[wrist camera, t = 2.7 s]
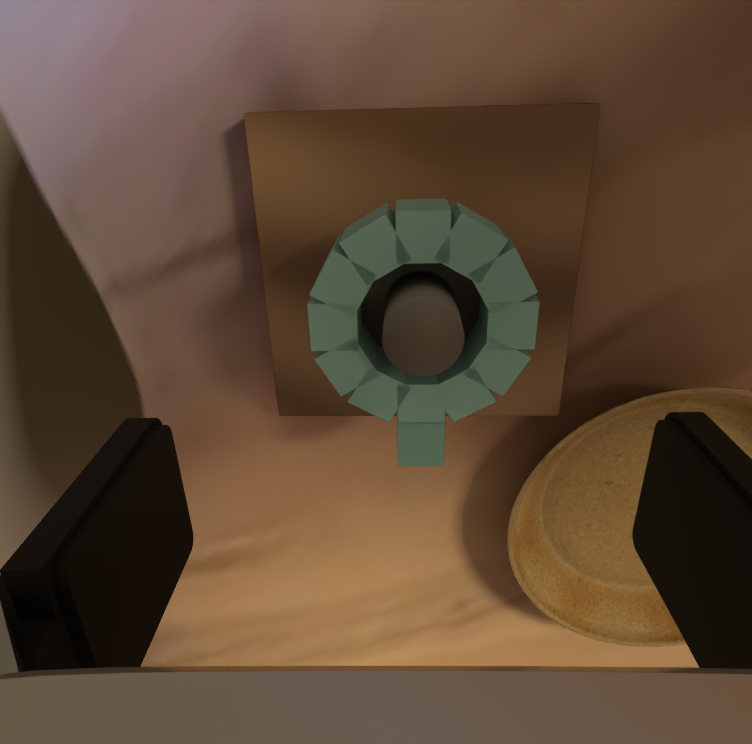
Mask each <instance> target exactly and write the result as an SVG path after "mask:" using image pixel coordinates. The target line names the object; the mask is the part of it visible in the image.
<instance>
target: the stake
mask: <svg viewBox="0 0 752 744" xmlns="http://www.w3.org/2000/svg"><path fill="white" fill-rule="evenodd" d="M599 110H600V104H599V103H571V104H535V105H499V106H463V107H426V108H390V109H354V110H318V111H282V112H251V113H244V120H245V128H246V137H247V145H248V154H249V162H250V171H251V180H252V188H253V197H254V205H255V214H256V222H257V231H258V239H259V248H260V256H261V265H262V273H263V282H264V290H265V299H266V307H267V316H268V324H269V333H270V342H271V350H272V359H273V367H274V376H275V384H276V393H277V401H278V410H279V416H375V415H373V414H371V413H369V412H367V411H365V410H363V409H361V408H359V407H357V406H355V405H353V404H350V403H348V398H349V392H348V393H347V394H345V395H343V396H340V394H339V393H338V392H337V390H336V389H335V387H334V386H333V385H332V383H331V382H330V381H329V379H328V378H327V376H326V375H325V374H324V372H323V371H322V369H321V368H320V367H319V365H318V364H317V362H316V361H315V360H314V359H315V356H316V353H317V351H311V342H310V330H309V318H308V306H307V304H308V302H309V299H310V297H311V296H310V295H309V294H310V292H311V290H312V288H313V285H314V283H315V281H316V279H317V277H318V275H319V273H320V271H321V269H322V267H323V265H324V263H325V261H326V259H327V257H328V255H329V253H330V251H331V249H332V247H333V245H334V244H335V242H336V240H337V238H338V236H339V235H340V236H342V235H343V232H344V230H345V228H346V227H348V226H349V225H351V224H353V223H354V222H356V221H357V220H359V219H361V218H362V217H364V216H365V215H367V214H369V213H370V212H372V211H374V210H375V209H377V208H378V207H380V206H382V205H383V204H385V203H386V202H387V203H388V205H389V207H390V208H391V210H392V212H393V214H394V215H395V217H396V199H447V201H448V204H449V206H450V209H451V208H452V206H453V205H454V203H455V201H457V202H458V203H460V204H462V205H464V206H465V207H467V208H469V209H470V210H472V211H474V212H476V213H477V214H479V215H481V216H482V217H484V218H486V219H488V220H489V221H491V222H493V223H494V224H496V225H498V227H499V228H500V229H501V231H502V232H504V233H505V234H506V236H507V237H508V238H509V240H510V241H511V242H512V244H513V245H514V247H515V248H516V250H517V252H518V254H519V256H520V258H521V260H522V262H523V264H524V266H525V268H526V270H527V272H528V274H529V276H530V278H531V280H532V281H533V283H534V285H535V287H536V289H537V291H538V293H536V294H535V295H536V297H537V298H538V300H539V301H540V304H539V313H538V322H537V332H536V341H535V349H527V350H528V353H529V355H530V357H531V359H530V360H529V362H528V363H527V364H526V366H525V367H524V368H523V370H522V371H521V372H520V374H519V375H518V376H517V378H516V379H515V380H514V382H513V383H512V384H511V386H510V387H509V388H508V390H507V391H506V393H505V394H504V395H503V396H502V395H500V394H498V393H496V392H494V391H493V394H494V398H495V401H496V402H494V403H492V404H490V405H488V406H486V407H484V408H482V409H480V410H478V411H476V412H474V413H472V414H470V415H467V416H513V415H559V408H560V401H561V393H562V386H563V379H564V371H565V364H566V356H567V349H568V341H569V334H570V326H571V319H572V312H573V304H574V297H575V289H576V282H577V274H578V267H579V259H580V252H581V244H582V237H583V230H584V222H585V215H586V207H587V200H588V192H589V185H590V177H591V170H592V163H593V155H594V148H595V140H596V133H597V125H598V118H599ZM361 305H362V321H363V323H364V324H365V326H366V327H367V329H368V330H369V332H370V333H371V335H372V336H373V338H374V339H375V341H376V343H377V344H378V345H379V346H381V347H383V349H384V352H385V354H386V356H387V358H388V359H389V361H390V362H391V363H392V364H393V365H394V366H395V367H396V368H398V369H399V370H401V371H402V372H405V373H407V374H410V375H414V376H431V375H435V374H438V373H441V372H443V371H445V370H446V369H448V368H449V367H450V366H452V365H453V364H454V363H455V362H456V360H457V359H458V358H459V356H460V354H461V352H462V350H463V346H464V341H465V339H466V338H467V336H468V335H469V333H470V332H471V330H472V329H473V327H474V326H475V324H476V323H477V321H478V320H479V306H480V293H479V292H478V290H477V288H476V286H475V284H474V283H473V281H472V280H471V279H469V278H467V277H465V276H463V275H462V274H460V273H458V272H456V271H454V270H453V269H451V268H449V267H447V266H445V265H444V264H442V263H414V264H403V265H401V266H399V267H398V268H396V269H394V270H393V271H391V272H389V273H387V274H386V275H384V276H382V277H381V278H379V279H377V280H375V281H374V282H373V283H372V285H371V287H370V288H369V290H368V292H367V294H366V296H365V297H364V299H363V301H362V303H361ZM393 416H397V411H396V412H395V414H394V415H393ZM445 416H449V415H448V413H447V412H446V410H445Z"/></svg>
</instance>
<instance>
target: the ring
mask: <svg viewBox="0 0 752 744" xmlns="http://www.w3.org/2000/svg"><path fill="white" fill-rule="evenodd" d="M414 263H442V264H444V265H445V266H447V267H449V268H451V269H453V270H454V271H456V272H458V273H460V274H462V275H463V276H465V277H467V278H469V279H471V280H472V281H473V283H474V284H475V286H476V288H477V290H478V292H479V293H480V306H479V320H478V321H477V323H476V324H475V326H474V327H473V329H472V330H471V332H470V333H469V335H468V336H467V338H466V339H465V341H464V346H463V350H462V352H461V354H460V356H459V358H458V359H457V360H456V362H455V363H454V364H453V365H452V366H450V367H449V368H448V369H446V370H445V371H443V372H441V373H438V374H435V375H431V376H414V375H410V374H407V373H405V372H402V371H401V370H399V369H398V368H396V367H395V366H394V365H393V364H392V363H391V362H390V361H389V359H388V358H387V356H386V354H385V352H384V349H383V347H381V346H379V345H378V344H377V343H376V341H375V339H374V338H373V336H372V335H371V333H370V332H369V330H368V329H367V327H366V326H365V324H364V323H363V321H362V305H361V303H362V301H363V299H364V297H365V296H366V294H367V292H368V290H369V288H370V287H371V285H372V283H373V282H374V281H375V280H377V279H379V278H381V277H382V276H384V275H386V274H387V273H389V272H391V271H393V270H394V269H396V268H398V267H399V266H401V265H403V264H414ZM536 293H538V291H537V289H536V287H535V285H534V283H533V281H532V280H531V278H530V276H529V274H528V272H527V270H526V268H525V266H524V264H523V262H522V260H521V258H520V256H519V254H518V252H517V250H516V248H515V247H514V245H513V244H512V242H511V241H510V240H509V238H508V237H507V236H506V234H505V233H504V232H502V231H501V229H500V228H499V227H498V225H496V224H494V223H493V222H491V221H489V220H488V219H486V218H484V217H482V216H481V215H479V214H477V213H476V212H474V211H472V210H470V209H469V208H467V207H465V206H464V205H462V204H460V203H458V202H457V201H455V203H454V205H453V206H452V208H451V209H450V206H449V204H448V201H447V199H396V217H395V215H394V214H393V212H392V210H391V208H390V207H389V205H388V203H387V202H386V203H385V204H383V205H382V206H380V207H378V208H377V209H375V210H374V211H372V212H370V213H369V214H367V215H365V216H364V217H362V218H361V219H359V220H357V221H356V222H354V223H353V224H351V225H349V226H348V227H346V228H345V230H344V232H343V235H342V236H340V235H339V236H338V238H337V240H336V242H335V244H334V245H333V247H332V249H331V251H330V253H329V255H328V257H327V259H326V261H325V263H324V265H323V267H322V269H321V271H320V273H319V275H318V277H317V279H316V281H315V283H314V285H313V288H312V290H311V292H310V294H309V295H310V296H311V297H310V299H309V302H308V304H307V306H308V318H309V330H310V342H311V351H317V353H316V356H315V359H314V360H315V361H316V362H317V364H318V365H319V367H320V368H321V369H322V371H323V372H324V374H325V375H326V376H327V378H328V379H329V381H330V382H331V383H332V385H333V386H334V387H335V389H336V390H337V392H338V393H339V394H340V396H343V395H345V394H347V393H348V392H349V398H348V403H350V404H353V405H355V406H357V407H359V408H361V409H363V410H365V411H367V412H369V413H371V414H373V415H375V416H377V417H379V418H381V419H383V420H385V421H387V422H390V420H391V419H392V417H393V415H394V414H395V412H396V411H397V451H398V466H444V441H445V410H446V412H447V413H448V415H449V416H450V418H451V419H452V421H453V422H455V421H457V420H459V419H461V418H463V417H465V416H467V415H470V414H472V413H474V412H476V411H478V410H480V409H482V408H484V407H486V406H488V405H490V404H492V403H494V402H496V401H495V398H494V394H493V391H494V392H496V393H498V394H500V395H502V396H503V395H504V394H505V393H506V391H507V390H508V388H509V387H510V386H511V384H512V383H513V382H514V380H515V379H516V378H517V376H518V375H519V374H520V372H521V371H522V370H523V368H524V367H525V366H526V364H527V363H528V362H529V360H530V359H531V357H530V355H529V353H528V350H527V349H535V341H536V332H537V322H538V313H539V304H540V301H539V300H538V298H537V297H536V295H535V294H536Z"/></svg>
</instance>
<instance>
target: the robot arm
mask: <svg viewBox="0 0 752 744" xmlns="http://www.w3.org/2000/svg"><path fill="white" fill-rule="evenodd" d="M632 539H633V544H634V548H635V550H636V552H637V554H638V556H639V557H640V559H641V561H642V563H643V565H644V567H645V568H646V570H647V572H648V574H649V576H650V578H651V579H652V581H653V583H654V585H655V587H656V589H657V590H658V592H659V594H660V596H661V598H662V599H663V601H664V603H665V605H666V607H667V609H668V610H669V612H670V614H671V616H672V618H673V620H674V621H675V623H676V625H677V627H678V629H679V631H680V632H681V634H682V636H683V638H684V640H685V642H686V643H687V645H688V647H689V649H690V651H691V653H692V654H693V656H694V658H695V660H696V662H697V664H698V665H699V667H700V668H678V667H556V666H171V667H140V666H141V664H142V662H143V659H144V657H145V655H146V653H147V650H148V648H149V646H150V643H151V641H152V639H153V637H154V634H155V632H156V630H157V628H158V625H159V623H160V621H161V619H162V616H163V614H164V612H165V609H166V607H167V605H168V603H169V600H170V598H171V596H172V594H173V591H174V589H175V587H176V585H177V582H178V580H179V578H180V575H181V573H182V571H183V569H184V566H185V564H186V562H187V560H188V557H189V555H190V553H191V550H192V546H193V530H192V525H191V521H190V516H189V511H188V507H187V502H186V497H185V492H184V488H183V483H182V478H181V473H180V469H179V464H178V459H177V454H176V450H175V445H174V440H173V435H172V431H171V429H170V427H169V426H168V425H162V423H161V421H160V419H158V418H128V419H126V420H125V421H124V422H123V423H122V424H121V425H120V426H119V428H118V429H117V430H116V431H115V432H114V434H113V435H112V436H111V437H110V438H109V440H108V441H107V442H106V443H105V444H104V446H103V447H102V448H101V449H100V451H99V452H98V453H97V454H96V455H95V457H94V458H93V459H92V460H91V461H90V463H89V464H88V465H87V466H86V467H85V469H84V470H83V471H82V472H81V473H80V475H79V476H78V477H77V478H76V479H75V481H74V482H73V483H72V484H71V485H70V487H69V488H68V489H67V490H66V491H65V493H64V494H63V495H62V497H61V498H60V499H59V500H58V501H57V502H56V503H55V505H54V506H53V507H52V508H51V509H50V511H49V512H48V513H47V514H46V516H45V517H44V518H43V519H42V520H41V522H40V523H39V524H38V525H37V526H36V528H35V529H34V530H33V531H32V532H31V534H30V535H29V536H28V537H27V538H26V540H25V541H24V542H23V543H22V544H21V546H20V547H19V548H18V549H17V550H16V552H15V553H14V554H13V555H12V556H11V558H10V559H9V560H8V561H7V562H6V564H5V565H4V566H3V567H2V568H1V570H0V573H1V575H0V744H752V459H751V458H750V457H749V456H748V455H747V454H746V453H745V452H744V451H743V450H742V449H741V448H740V447H739V446H738V445H737V444H736V443H735V442H734V441H733V440H732V439H731V438H730V437H729V436H728V435H727V434H726V433H725V432H724V431H723V430H722V429H721V428H720V427H719V426H718V425H717V424H716V423H715V422H714V421H713V420H712V419H711V418H709V417H708V416H707V415H706V414H705V413H703V412H670V413H668V414H667V415H666V417H665V419H664V420H659V421H657V423H656V425H655V428H654V433H653V438H652V442H651V447H650V452H649V456H648V461H647V465H646V470H645V475H644V479H643V484H642V489H641V493H640V498H639V502H638V507H637V512H636V516H635V521H634V526H633V531H632Z"/></svg>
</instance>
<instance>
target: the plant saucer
mask: <svg viewBox="0 0 752 744" xmlns="http://www.w3.org/2000/svg"><path fill="white" fill-rule="evenodd" d="M670 412H703V413H705V414H706V415H707V416H708V417H709V418H711V419H712V420H713V421H714V422H715V423H716V424H717V425H718V426H719V427H720V428H721V429H722V430H723V431H724V432H725V433H726V434H727V435H728V436H729V437H730V438H731V439H732V440H733V441H734V442H735V443H736V444H737V445H738V446H739V447H740V448H741V449H742V450H743V451H744V452H745V453H746V454H747V455H748V456H749V457H750V458H751V459H752V391H750V390H744V389H737V388H724V387H703V388H689V389H680V390H673V391H666V392H661V393H656V394H652V395H648V396H644V397H641V398H637V399H634V400H631V401H628V402H625V403H623V404H620V405H618V406H616V407H613V408H611V409H609V410H607V411H604V412H603V413H601V414H599V415H597V416H595V417H593V418H592V419H590V420H588V421H587V422H585V423H584V424H582V425H581V426H579V427H578V428H576V429H575V430H574V431H572V432H571V433H570V434H568V435H567V436H566V437H564V438H563V439H562V440H561V441H560V442H558V443H557V444H556V445H555V446H554V447H553V448H552V449H551V450H550V451H549V452H548V453H547V454H546V455H545V456H544V458H543V459H542V460H541V461H540V462H539V463H538V465H537V466H536V467H535V469H534V470H533V471H532V472H531V474H530V475H529V477H528V478H527V480H526V481H525V483H524V485H523V486H522V488H521V490H520V492H519V494H518V496H517V498H516V500H515V502H514V505H513V508H512V511H511V514H510V518H509V523H508V531H507V548H508V555H509V561H510V564H511V568H512V570H513V573H514V576H515V578H516V579H517V581H518V584H519V585H520V587H521V588H522V590H523V592H524V593H525V594H526V595H527V597H528V598H529V599H530V600H531V601H532V603H533V604H535V606H536V607H537V608H538V609H539V610H541V611H542V612H543V613H544V614H545V615H546V616H548V617H549V618H550V619H552V620H553V621H555V622H557V623H558V624H560V625H562V626H563V627H566V628H568V629H570V630H572V631H574V632H576V633H579V634H581V635H584V636H586V637H589V638H593V639H596V640H599V641H603V642H608V643H616V644H620V645H626V646H640V647H659V646H674V645H682V644H687V643H686V642H685V640H684V638H683V636H682V634H681V632H680V631H679V629H678V627H677V625H676V623H675V621H674V620H673V618H672V616H671V614H670V612H669V610H668V609H667V607H666V605H665V603H664V601H663V599H662V598H661V596H660V594H659V592H658V590H657V589H656V587H655V585H654V583H653V581H652V579H651V578H650V576H649V574H648V572H647V570H646V568H645V567H644V565H643V563H642V561H641V559H640V557H639V556H638V554H637V552H636V550H635V548H634V544H633V539H632V531H633V526H634V521H635V516H636V512H637V507H638V502H639V498H640V493H641V489H642V484H643V479H644V475H645V470H646V465H647V461H648V456H649V452H650V447H651V442H652V438H653V433H654V428H655V425H656V423H657V421H659V420H664V419H665V417H666V415H667V414H668V413H670Z"/></svg>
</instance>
